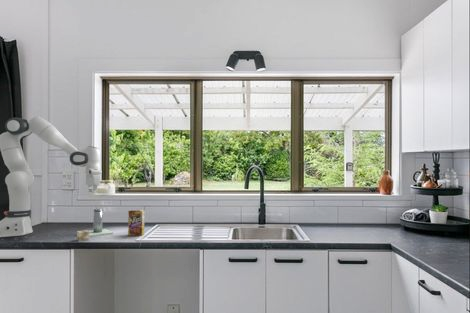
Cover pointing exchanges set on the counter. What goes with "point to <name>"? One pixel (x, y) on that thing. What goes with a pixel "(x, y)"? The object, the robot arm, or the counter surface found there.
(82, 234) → the maple cube
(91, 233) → the pad
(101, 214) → the tin
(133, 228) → the candy box
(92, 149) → the robot arm
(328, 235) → the counter surface
